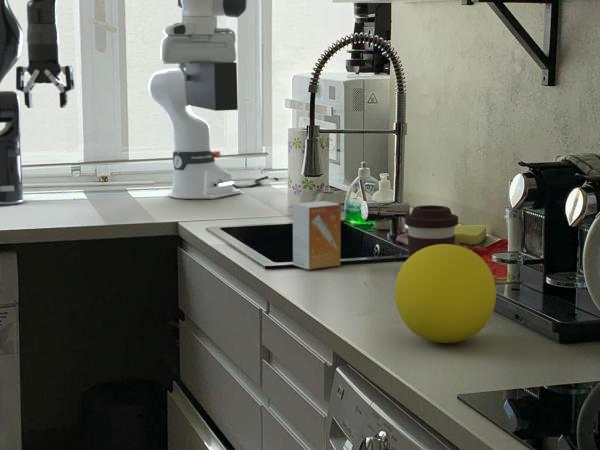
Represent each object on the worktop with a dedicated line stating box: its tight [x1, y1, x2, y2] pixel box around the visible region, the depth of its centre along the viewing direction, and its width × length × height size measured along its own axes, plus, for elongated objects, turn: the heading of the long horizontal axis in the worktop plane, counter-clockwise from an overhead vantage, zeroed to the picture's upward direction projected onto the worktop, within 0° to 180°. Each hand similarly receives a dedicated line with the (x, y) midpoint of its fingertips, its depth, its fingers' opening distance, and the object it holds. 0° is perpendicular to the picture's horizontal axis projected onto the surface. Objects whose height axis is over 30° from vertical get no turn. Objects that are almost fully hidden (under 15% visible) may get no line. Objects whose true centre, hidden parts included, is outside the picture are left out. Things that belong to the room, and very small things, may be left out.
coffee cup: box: [404, 204, 459, 258], centre depth 197 cm, size 10×10×15 cm
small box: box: [292, 200, 342, 271], centre depth 216 cm, size 8×6×13 cm
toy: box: [394, 244, 497, 344], centre depth 160 cm, size 15×15×15 cm
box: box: [184, 61, 239, 112], centre depth 271 cm, size 28×6×12 cm, turn 21°
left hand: (46, 107), depth 263 cm, fingers open, 8 cm apart
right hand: (199, 80), depth 280 cm, fingers closed on box, 6 cm apart
